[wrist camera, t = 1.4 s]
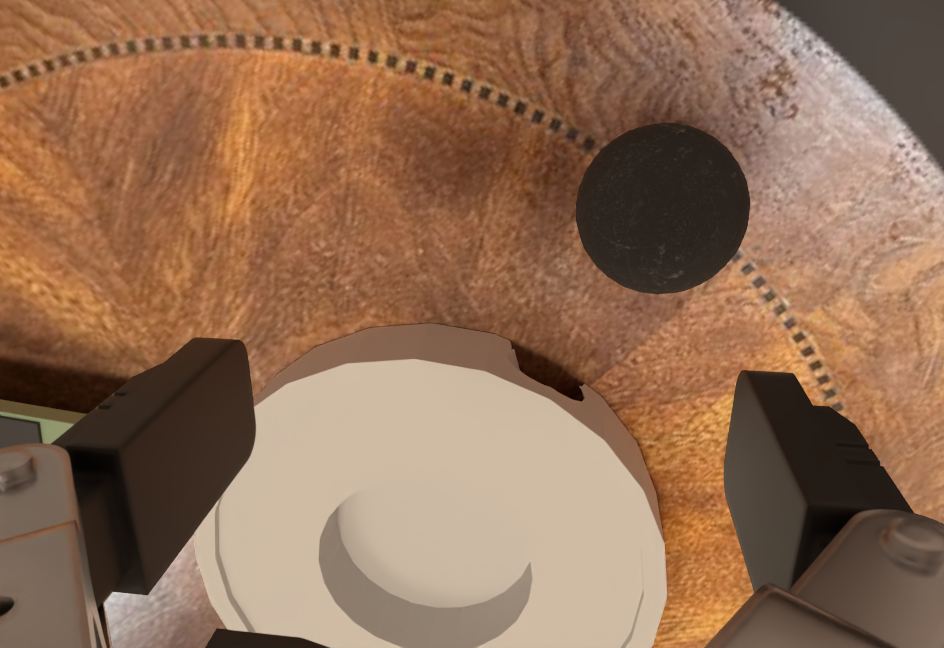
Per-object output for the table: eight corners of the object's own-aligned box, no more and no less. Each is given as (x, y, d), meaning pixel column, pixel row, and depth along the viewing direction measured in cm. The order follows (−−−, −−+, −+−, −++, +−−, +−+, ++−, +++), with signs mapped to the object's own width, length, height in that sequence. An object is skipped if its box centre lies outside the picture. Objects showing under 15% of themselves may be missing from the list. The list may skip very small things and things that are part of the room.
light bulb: (729, 205, 32) (790, 285, 23) (602, 251, 33) (611, 343, 24) (689, 76, 30) (738, 106, 21) (556, 130, 32) (548, 180, 22)
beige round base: (610, 277, 34) (614, 310, 30) (692, 666, 42) (704, 729, 38) (160, 371, 39) (116, 408, 35) (310, 702, 47) (287, 761, 43)
